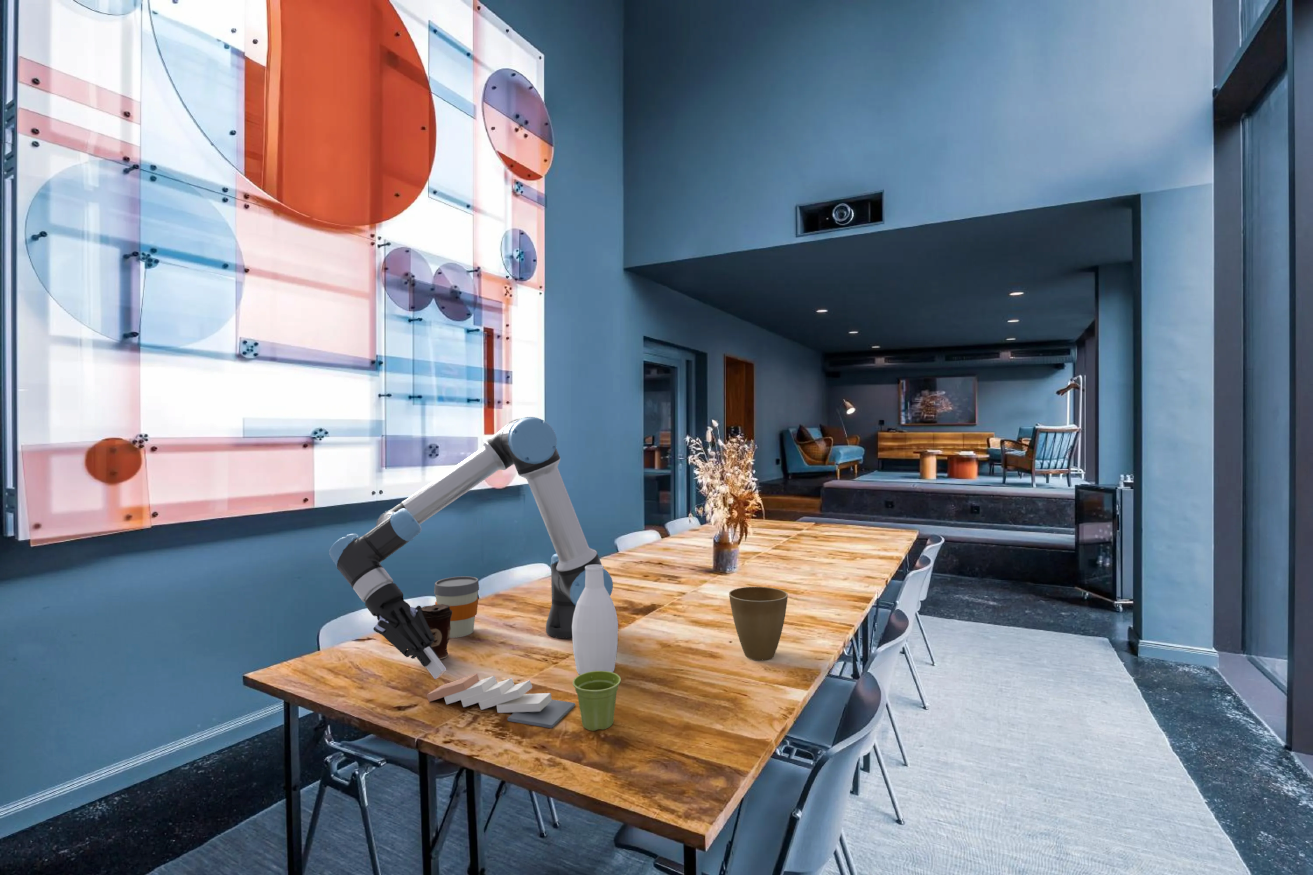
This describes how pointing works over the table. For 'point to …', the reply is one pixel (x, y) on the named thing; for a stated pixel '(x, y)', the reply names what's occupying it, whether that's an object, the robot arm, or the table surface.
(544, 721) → the slate coaster
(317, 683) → the table surface
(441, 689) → the domino
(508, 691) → the domino
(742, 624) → the plant pot
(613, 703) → the plant pot
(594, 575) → the bottle
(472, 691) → the domino
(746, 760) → the table surface
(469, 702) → the domino
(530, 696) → the domino
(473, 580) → the reusable coffee cup
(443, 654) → the coffee cup
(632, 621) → the table surface
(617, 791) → the table surface
